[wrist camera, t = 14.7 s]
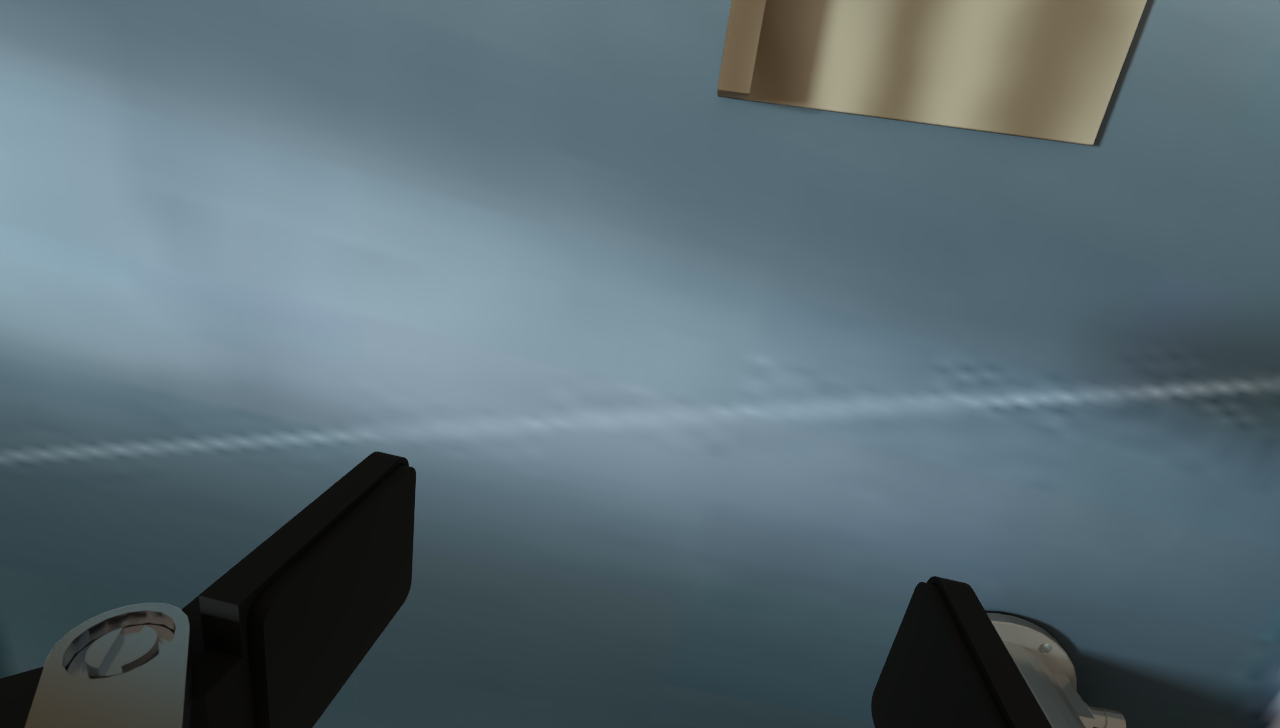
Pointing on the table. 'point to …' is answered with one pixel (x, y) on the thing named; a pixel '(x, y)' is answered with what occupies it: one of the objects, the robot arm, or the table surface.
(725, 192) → the table surface
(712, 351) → the table surface
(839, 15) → the wooden tray
